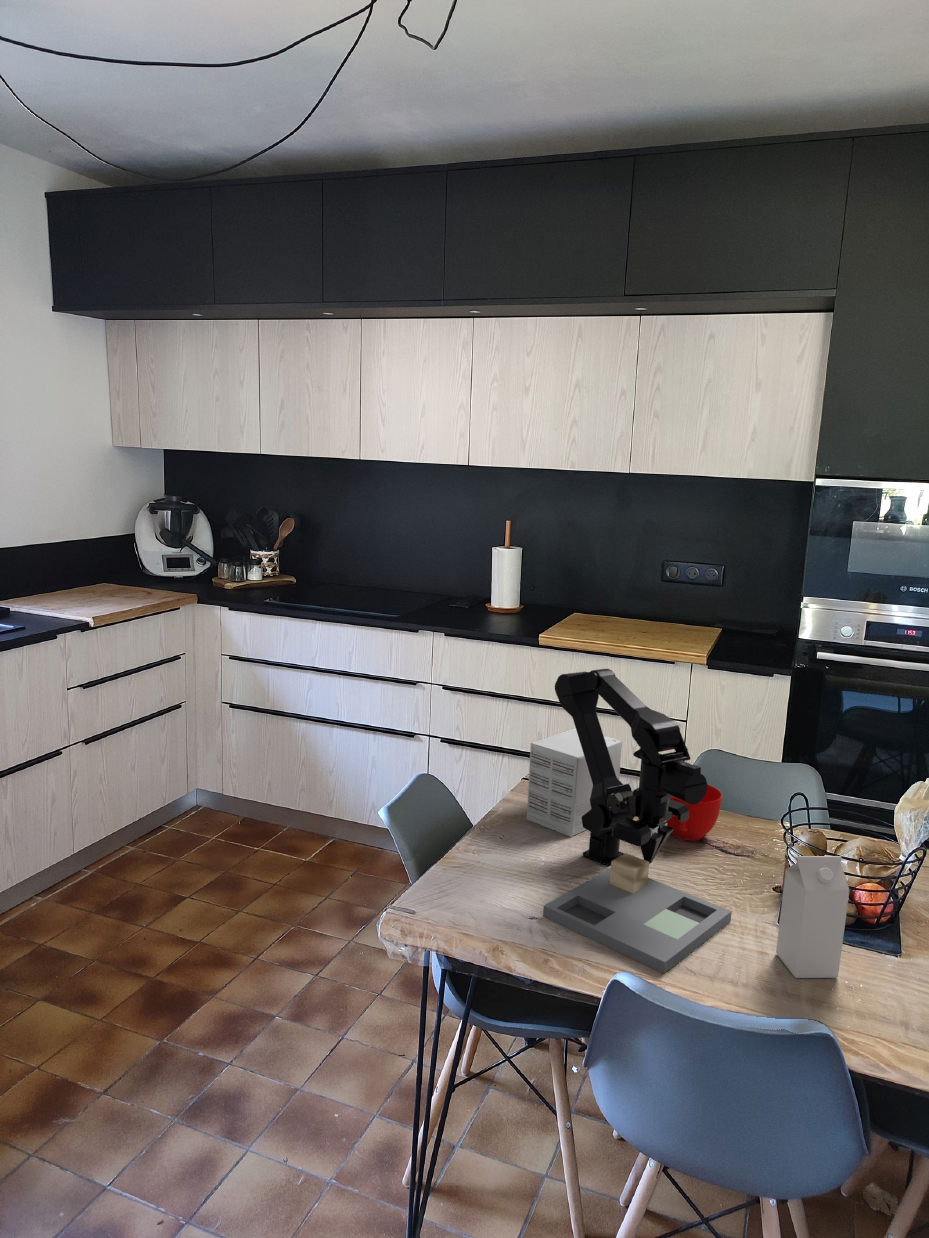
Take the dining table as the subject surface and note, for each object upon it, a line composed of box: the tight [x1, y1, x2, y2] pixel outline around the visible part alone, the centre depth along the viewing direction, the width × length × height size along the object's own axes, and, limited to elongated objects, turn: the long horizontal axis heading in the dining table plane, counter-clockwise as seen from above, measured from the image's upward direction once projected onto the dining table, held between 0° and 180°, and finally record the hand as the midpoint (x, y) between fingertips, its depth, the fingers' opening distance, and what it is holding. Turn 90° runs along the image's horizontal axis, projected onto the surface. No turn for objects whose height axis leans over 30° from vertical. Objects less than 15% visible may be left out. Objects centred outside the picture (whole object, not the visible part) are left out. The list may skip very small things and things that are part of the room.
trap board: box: [542, 867, 733, 974], centre depth 153 cm, size 23×24×2 cm
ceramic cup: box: [666, 784, 723, 842], centre depth 187 cm, size 13×17×10 cm
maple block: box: [610, 852, 650, 893], centre depth 161 cm, size 5×5×4 cm
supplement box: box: [526, 727, 623, 838], centre depth 194 cm, size 17×13×18 cm
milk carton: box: [775, 855, 850, 979], centre depth 139 cm, size 7×7×19 cm
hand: (648, 863), depth 166 cm, fingers closed
